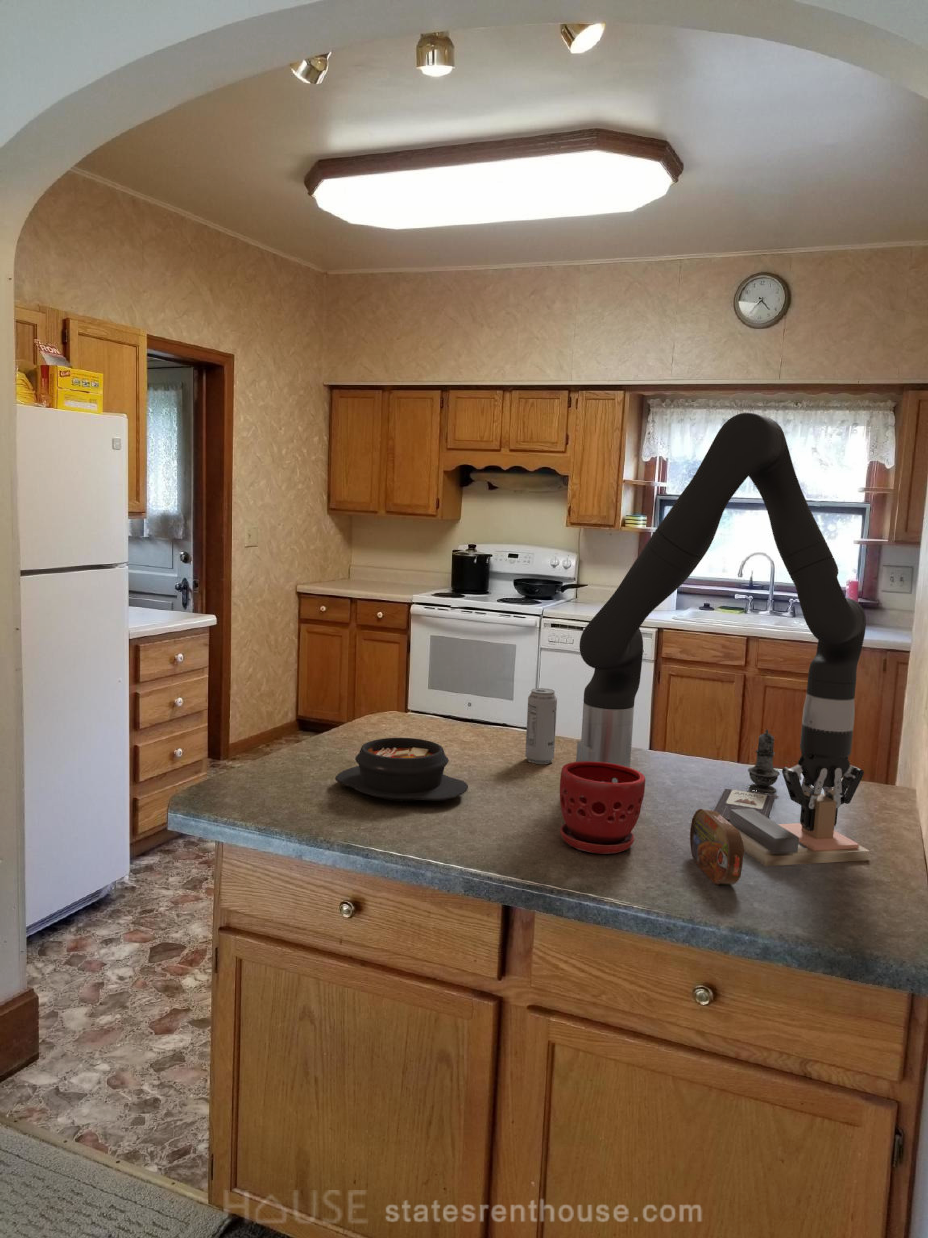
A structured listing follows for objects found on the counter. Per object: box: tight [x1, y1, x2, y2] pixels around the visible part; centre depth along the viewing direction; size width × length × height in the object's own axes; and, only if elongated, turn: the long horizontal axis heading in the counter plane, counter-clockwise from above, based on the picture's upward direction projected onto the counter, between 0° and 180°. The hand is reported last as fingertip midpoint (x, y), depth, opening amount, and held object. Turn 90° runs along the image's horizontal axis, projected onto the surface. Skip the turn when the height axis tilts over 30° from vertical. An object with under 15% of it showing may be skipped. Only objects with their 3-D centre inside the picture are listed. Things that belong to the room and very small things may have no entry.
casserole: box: [335, 737, 469, 802], centre depth 162 cm, size 25×19×8 cm
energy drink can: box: [524, 687, 558, 765], centre depth 185 cm, size 6×6×15 cm
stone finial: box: [747, 728, 781, 795], centre depth 172 cm, size 6×6×12 cm
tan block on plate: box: [777, 793, 860, 851], centre depth 142 cm, size 8×10×7 cm
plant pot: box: [559, 761, 646, 855], centre depth 140 cm, size 13×13×12 cm
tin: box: [689, 808, 745, 885], centre depth 131 cm, size 15×3×8 cm, turn 5°
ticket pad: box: [730, 809, 870, 867], centre depth 142 cm, size 18×13×4 cm
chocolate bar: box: [713, 788, 775, 822], centre depth 161 cm, size 9×1×18 cm
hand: (817, 828), depth 143 cm, fingers closed on tan block on plate, 3 cm apart
